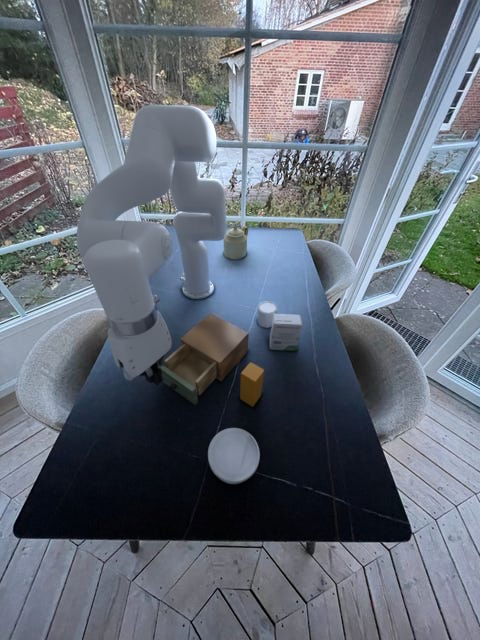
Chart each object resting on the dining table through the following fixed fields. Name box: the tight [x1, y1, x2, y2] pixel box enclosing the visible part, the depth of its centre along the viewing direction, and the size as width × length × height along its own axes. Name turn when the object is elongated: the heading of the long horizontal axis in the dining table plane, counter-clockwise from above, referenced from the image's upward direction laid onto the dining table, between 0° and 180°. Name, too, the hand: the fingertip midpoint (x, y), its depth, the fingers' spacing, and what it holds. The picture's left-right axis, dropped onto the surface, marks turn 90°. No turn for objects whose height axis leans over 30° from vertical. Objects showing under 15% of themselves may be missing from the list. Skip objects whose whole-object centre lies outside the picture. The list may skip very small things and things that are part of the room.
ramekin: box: [207, 427, 261, 485], centre depth 59 cm, size 11×11×5 cm
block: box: [239, 361, 265, 408], centre depth 69 cm, size 4×4×12 cm
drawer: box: [161, 343, 219, 406], centre depth 74 cm, size 14×14×7 cm
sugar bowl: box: [223, 223, 249, 260], centre depth 125 cm, size 15×11×15 cm
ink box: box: [269, 313, 304, 351], centre depth 83 cm, size 8×5×12 cm, turn 87°
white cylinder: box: [257, 300, 279, 328], centre depth 92 cm, size 7×7×7 cm
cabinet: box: [179, 312, 250, 382], centre depth 80 cm, size 14×15×9 cm
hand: (155, 379), depth 56 cm, fingers closed
